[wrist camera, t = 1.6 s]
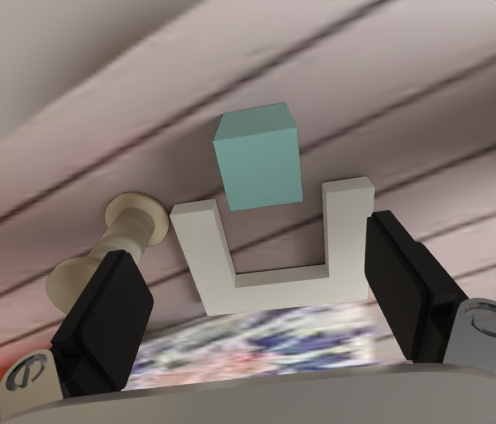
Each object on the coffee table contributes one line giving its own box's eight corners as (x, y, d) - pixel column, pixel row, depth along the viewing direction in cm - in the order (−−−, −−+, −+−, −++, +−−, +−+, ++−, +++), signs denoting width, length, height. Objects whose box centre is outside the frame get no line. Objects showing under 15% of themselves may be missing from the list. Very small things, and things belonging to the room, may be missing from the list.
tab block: (285, 102, 22) (296, 127, 17) (291, 161, 25) (303, 201, 19) (223, 113, 23) (212, 141, 17) (235, 170, 26) (230, 211, 20)
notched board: (366, 176, 26) (374, 186, 24) (361, 285, 33) (367, 299, 31) (174, 204, 28) (169, 215, 26) (210, 302, 35) (207, 315, 33)
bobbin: (157, 187, 27) (112, 260, 18) (177, 238, 30) (146, 320, 21) (98, 197, 27) (27, 271, 19) (123, 245, 30) (72, 328, 22)
